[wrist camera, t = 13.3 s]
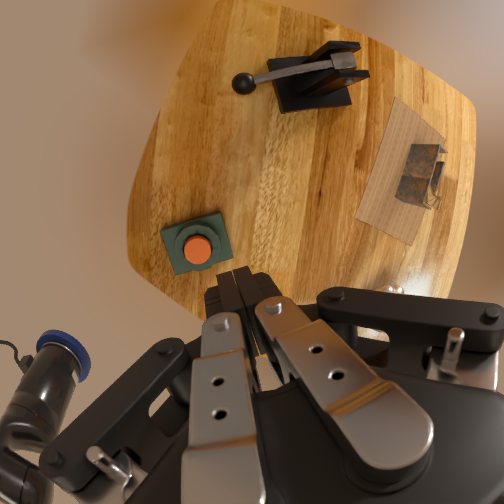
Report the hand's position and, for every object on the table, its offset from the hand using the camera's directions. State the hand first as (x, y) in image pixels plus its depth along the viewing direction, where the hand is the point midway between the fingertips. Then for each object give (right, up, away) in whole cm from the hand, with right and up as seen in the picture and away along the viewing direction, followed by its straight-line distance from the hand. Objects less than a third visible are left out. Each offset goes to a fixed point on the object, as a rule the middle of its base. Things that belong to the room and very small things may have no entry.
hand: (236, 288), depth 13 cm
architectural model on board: (+30, +17, +32) cm, 47 cm away
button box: (-7, +3, +28) cm, 29 cm away
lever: (+6, +25, +17) cm, 31 cm away
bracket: (+10, +28, +24) cm, 38 cm away
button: (-7, +2, +25) cm, 26 cm away
